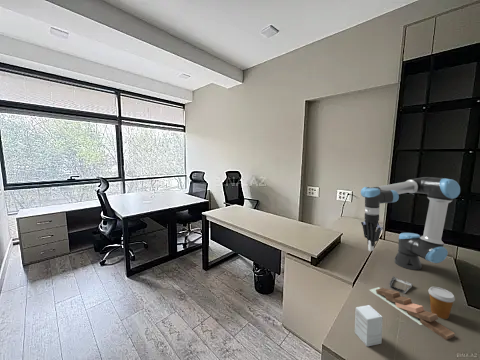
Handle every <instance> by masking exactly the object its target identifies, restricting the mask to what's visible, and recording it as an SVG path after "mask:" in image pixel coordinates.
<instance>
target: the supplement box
mask: <svg viewBox="0 0 480 360" xmlns="http://www.w3.org/2000/svg"><path fill="white" fill-rule="evenodd" d="M354 311H355V313H354V316H355V317H354V318H355V319H354V333H355V335H356V336H357V337H358V338H359V339H360V341H362V343H363V344H364V345H365V347H370V346H375V345H379V344H380V345H381V344H382V338H383V316H382V315H381V314H380V313H379V312H378V311H377V310H376V309H374V307H372V305H370V304H367V305H361V306H356V307H355V310H354Z"/></svg>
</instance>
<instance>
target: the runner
mask: <svg viewBox="0 0 480 360" xmlns="http://www.w3.org/2000/svg"><path fill="white" fill-rule="evenodd" d="M380 288H381V287H379V286H378V287H374V288H371V289H369V291H370V292H371V293H372V294H374V295H376V297H378V298H380V299H381V300H383V301H384V302H386V303H388V305H390V306H392V307H393V308H395V309H396V310H398V311H399V312H401V313H402V314H404V315H405V316H407V317H409V319H411V320H412V321H413V322H415V323H417V324H418V325H420V326H422V325H423V324H422V323H420V318H417V317H414V316H411V315H408V313H407V310H405V309H402V308H399V307H396V303H395V302H392V301H388V300H386V297H385V296H384V295H380V294H377V293H376V290H377V289H380Z"/></svg>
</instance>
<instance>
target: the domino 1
mask: <svg viewBox="0 0 480 360" xmlns="http://www.w3.org/2000/svg"><path fill="white" fill-rule="evenodd" d="M376 293H377V294H380V295H384V296H387V297H391V298H396V297H399V296H401V292H400V291H398V290H394V289H388V288H383V287H380V289H377V290H376Z"/></svg>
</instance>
